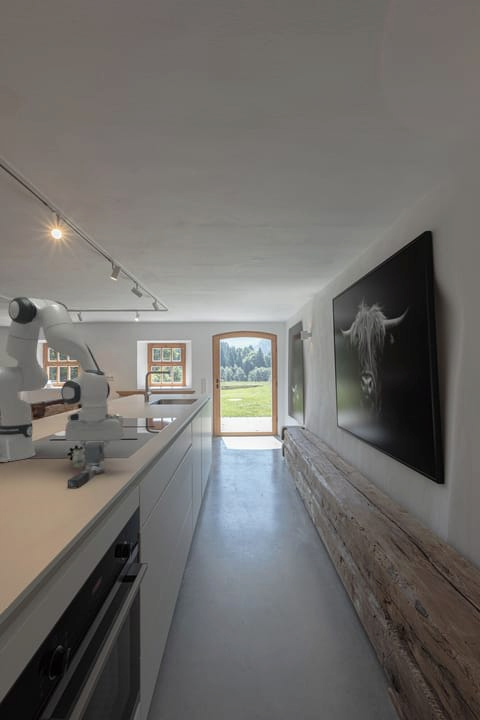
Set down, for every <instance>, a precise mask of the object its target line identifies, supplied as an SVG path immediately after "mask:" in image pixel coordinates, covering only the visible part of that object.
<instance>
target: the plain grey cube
mask: <svg viewBox="0 0 480 720" xmlns="http://www.w3.org/2000/svg"><path fill="white" fill-rule="evenodd" d="M85 444H86V445H85V454H84V464H90V463H100V462H103V461H104V460H105V458H106V457H105V454H106V453H101V448H102V447H104V445H105V443H104V441H91V442H90V441H89V442H88V443H85Z"/></svg>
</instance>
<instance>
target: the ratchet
mask: <svg viewBox="0 0 480 720" xmlns="http://www.w3.org/2000/svg"><path fill="white" fill-rule="evenodd" d="M105 466H106V465H105V463H104V462H103V461H101V462H100V463H86V464H85V470H84V471H82V472H78V473H77V474H75V475H73V476H72V477H71V478H68V480H67V489H79V488H81V487H82V486H84V484H86V483H88V482H89V481H90V479H92V478H93V477H95V476H96V475H101V474H103V473H105V470H106V469H105Z"/></svg>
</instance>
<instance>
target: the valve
mask: <svg viewBox="0 0 480 720" xmlns="http://www.w3.org/2000/svg"><path fill="white" fill-rule="evenodd" d="M69 451H70V452H67V456H68V457H69V461H72V462H73V468H74V469H81V468H83V467H84V464H85V453H83V448H82V446H81V445H80V447H79V445H77V444H76V445H74V448H73V447H69Z"/></svg>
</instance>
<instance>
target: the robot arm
mask: <svg viewBox="0 0 480 720" xmlns="http://www.w3.org/2000/svg"><path fill="white" fill-rule="evenodd" d="M8 315H9V317H10V319H11V322H10V325H9V329H8V334H7V339H6V340H7V341H6V346H5V352H6V354H7V355H8V356H9V357H10V358H12V359H14V360H16V361H17V365H16V366H0V462H4V463H8V461H9V462H12V461H20V460H25V459H29V458H32V457H34V456H36V451H35V446H34V443H33V430H34V429H33V423H32V406H31V405H30V403H29V402H27V401H25V400H23V399H21V398H20V397H19V393H18V392H35V391H38V390H42V389H45V387H46V386H47V384H48V381H49V375H48V372H47V370H45V368H43V367H42V366H41V364H40V363H39V361H38V356H37V354H38V353H37V351H38V344H39V339H40V338H39V337H40V331H41V329H42V332H43V334H44V338H45V341H46V343H47V346H48V347H49V348H50V349H51V350H53V351H54V352H56V353H58V354H61V355H64V356H67V357H70V358H72V359H73V360H75V361H76V362H77V363H78V364H79V365H80V367H81V369H82V373H81V374H80V375H79V376H77V377H75V378H71V379H69V380H66V381H65V382H64V383H63V385H62V386H61V392H60V393H61V397H62V398H61V399H62V400H63V401H64V402H65V404H67V405H72V406H74V405H75V406H78V405H81V410H78V411H76V412H73V413H70V414H68V415H67V423H66V425H65V433H64V436H65V439H66V441H68V442H69V441H70V442H74V441H75V442H79V444H80V447H81V446H82V448H83V453H85V445H86V444H87V441H89V442H90V441H91V442H104V447H102V448H101V453H105V454H106V453H107V452H108V451H107V448H108V446H109V445H110V441H120V440H122V439H123V438H124V436H125V434H124V427H123V425H124V417H123V416H121V415H120V414H118V413H117V414H109V413H108V409H109V408H108V407H109V406H108V405H109V404H108V401H107V400H108V398H109V396H110V393H111V387H110V384H109V382H108V378H107V375H106V373H105V372H104V371H102V370H100V369H101V368H100V367H99V365H98V363H97V361H96V359H95V357H94V355H93V352H92V351H91V349H90V348H89V346H88V344H86V343H85V342H84V341H83V340H82V338H81V337H80V335H79V334H78V332H77V330H76V327H75V325H74V322H73V319H72V317H71V316H70V313H69V310H68V307H67V305H65V304H63V303H62V302H59V301H56V300H55V301H54V300H50V299H44V298H34V297H31V298H30V297H26V296H25V297H24V296H19V297H15V298H13V299H12V300H11V301H10V303H9V306H8Z"/></svg>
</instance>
